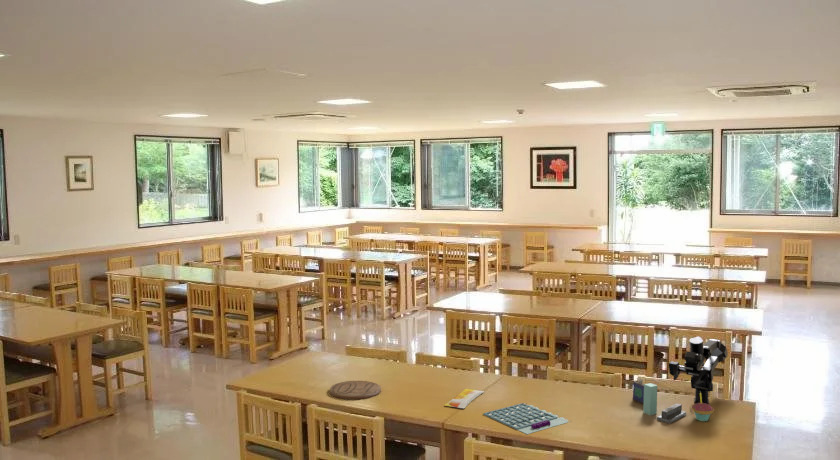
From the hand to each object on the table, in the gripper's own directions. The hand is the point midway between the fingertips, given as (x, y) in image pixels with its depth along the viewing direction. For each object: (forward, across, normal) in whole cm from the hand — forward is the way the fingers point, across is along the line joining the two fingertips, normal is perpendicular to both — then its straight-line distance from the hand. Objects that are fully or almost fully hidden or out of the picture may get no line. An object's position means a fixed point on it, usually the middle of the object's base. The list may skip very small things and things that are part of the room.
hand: (684, 381), depth 310 cm
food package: (+45, -89, +2) cm, 99 cm away
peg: (+10, -13, +13) cm, 21 cm away
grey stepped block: (+10, -4, +14) cm, 17 cm away
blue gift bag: (-2, -23, +18) cm, 29 cm away
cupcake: (+3, +8, +16) cm, 18 cm away
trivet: (+68, -137, -6) cm, 153 cm away
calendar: (+48, -53, +1) cm, 71 cm away
